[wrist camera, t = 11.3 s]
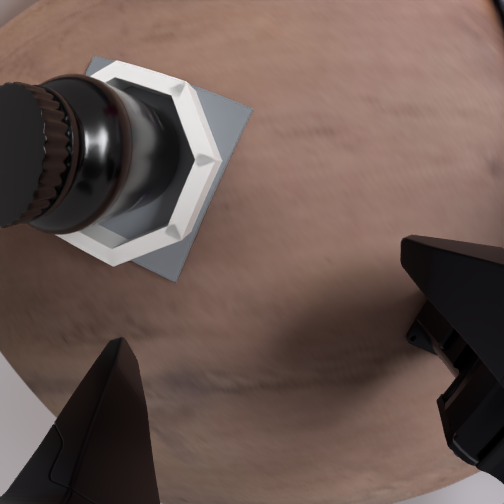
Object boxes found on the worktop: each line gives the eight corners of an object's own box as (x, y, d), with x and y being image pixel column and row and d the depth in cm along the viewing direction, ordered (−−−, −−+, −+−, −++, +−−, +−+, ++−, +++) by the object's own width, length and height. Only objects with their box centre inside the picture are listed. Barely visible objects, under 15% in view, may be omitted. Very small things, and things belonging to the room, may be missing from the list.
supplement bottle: (148, 228, 20) (27, 302, 8) (73, 175, 19) (-68, 200, 8) (204, 134, 18) (113, 95, 7) (120, 86, 17) (-10, 33, 6)
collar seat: (253, 110, 18) (250, 100, 15) (177, 279, 21) (164, 297, 18) (98, 57, 17) (76, 46, 14) (43, 210, 21) (18, 217, 18)
